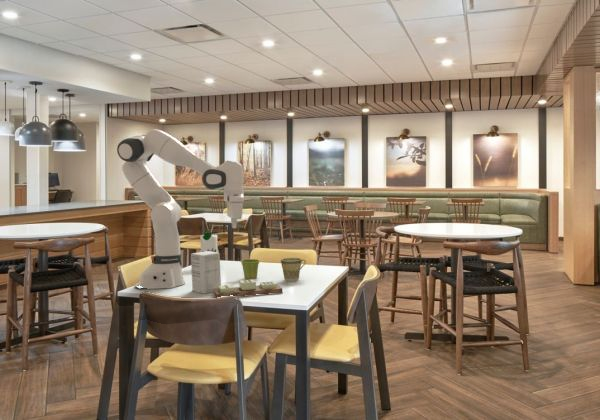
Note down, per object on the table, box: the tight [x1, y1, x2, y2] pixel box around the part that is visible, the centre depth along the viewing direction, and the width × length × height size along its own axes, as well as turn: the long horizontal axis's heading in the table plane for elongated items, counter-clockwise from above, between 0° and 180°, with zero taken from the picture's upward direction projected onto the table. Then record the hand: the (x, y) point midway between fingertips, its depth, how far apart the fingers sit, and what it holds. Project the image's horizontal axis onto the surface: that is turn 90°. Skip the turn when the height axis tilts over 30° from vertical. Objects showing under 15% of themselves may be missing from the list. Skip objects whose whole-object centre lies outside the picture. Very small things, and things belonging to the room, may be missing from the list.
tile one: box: [219, 284, 236, 293], centre depth 211 cm, size 6×6×3 cm
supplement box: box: [190, 251, 222, 294], centre depth 221 cm, size 10×9×17 cm
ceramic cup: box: [280, 257, 306, 282], centre depth 241 cm, size 13×10×10 cm
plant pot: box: [240, 258, 261, 280], centre depth 247 cm, size 9×9×9 cm
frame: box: [212, 284, 283, 298], centre depth 214 cm, size 28×10×2 cm, turn 107°
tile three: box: [259, 280, 278, 289], centre depth 217 cm, size 6×6×3 cm
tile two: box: [238, 278, 257, 290], centre depth 214 cm, size 6×6×3 cm
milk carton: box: [199, 231, 219, 253], centre depth 281 cm, size 9×9×20 cm
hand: (234, 228), depth 224 cm, fingers closed
